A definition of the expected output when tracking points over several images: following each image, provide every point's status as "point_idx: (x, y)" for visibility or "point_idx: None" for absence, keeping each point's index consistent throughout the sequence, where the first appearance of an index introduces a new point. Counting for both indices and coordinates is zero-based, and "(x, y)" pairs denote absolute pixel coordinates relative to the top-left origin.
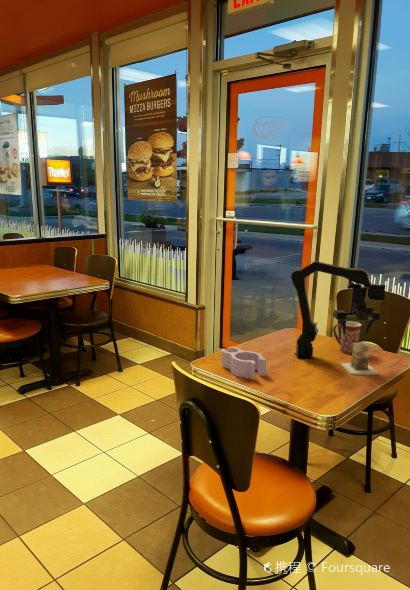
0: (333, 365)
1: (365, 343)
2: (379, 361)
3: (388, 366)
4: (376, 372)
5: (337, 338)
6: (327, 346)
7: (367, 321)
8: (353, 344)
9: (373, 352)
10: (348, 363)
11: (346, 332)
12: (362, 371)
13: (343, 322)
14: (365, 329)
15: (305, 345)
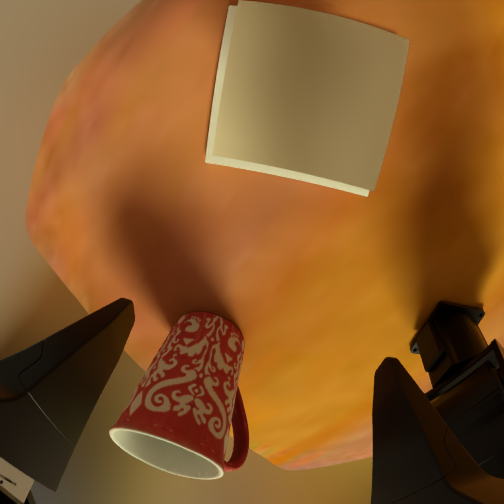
0: (412, 198)
1: (224, 123)
2: (116, 196)
3: (105, 123)
4: (235, 10)
5: (237, 408)
6: (268, 390)
7: (33, 438)
8: (372, 174)
9: (106, 298)
10: (328, 179)
11: (215, 418)
12: None
13: (492, 486)
14: (101, 355)
15: (500, 346)
